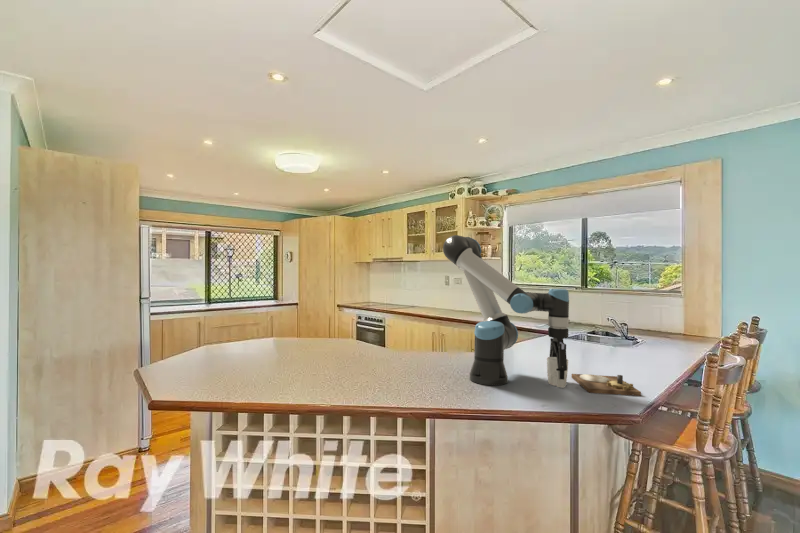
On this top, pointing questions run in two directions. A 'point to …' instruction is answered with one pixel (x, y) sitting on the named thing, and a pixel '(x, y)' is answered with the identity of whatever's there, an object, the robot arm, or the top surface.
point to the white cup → (554, 370)
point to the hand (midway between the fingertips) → (557, 383)
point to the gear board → (605, 384)
